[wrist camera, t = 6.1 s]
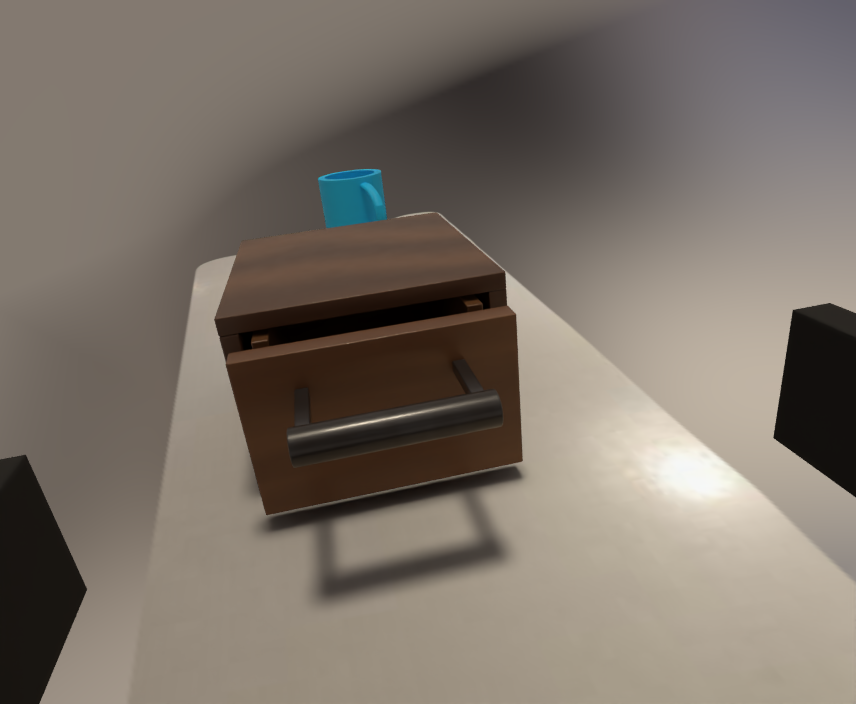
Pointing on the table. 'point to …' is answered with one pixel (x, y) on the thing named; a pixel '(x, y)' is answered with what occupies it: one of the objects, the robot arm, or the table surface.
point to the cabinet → (351, 274)
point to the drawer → (378, 400)
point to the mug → (352, 197)
